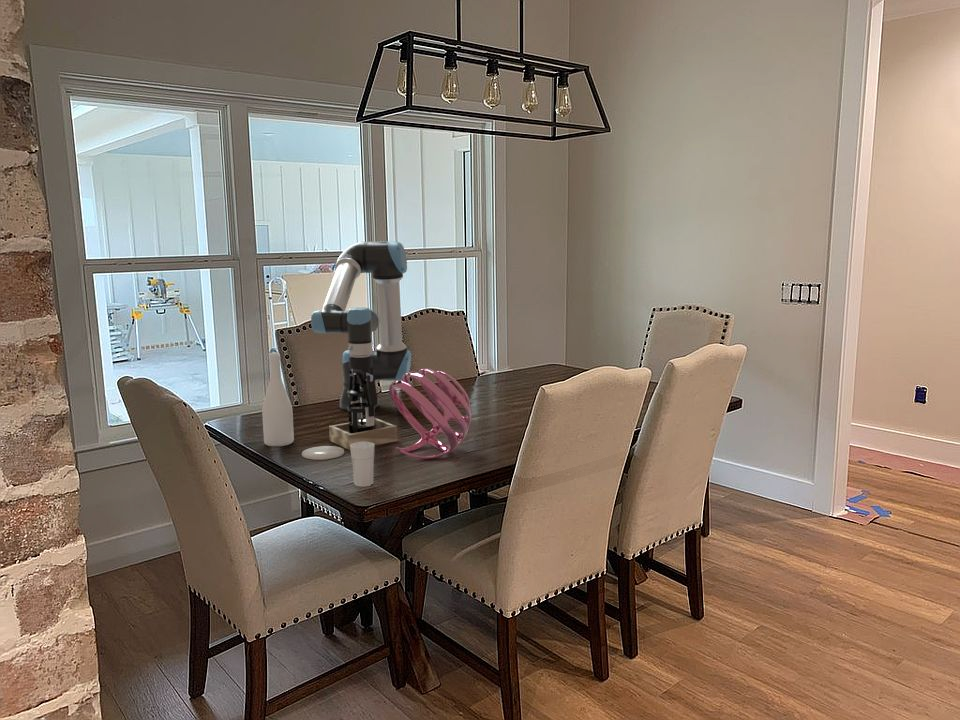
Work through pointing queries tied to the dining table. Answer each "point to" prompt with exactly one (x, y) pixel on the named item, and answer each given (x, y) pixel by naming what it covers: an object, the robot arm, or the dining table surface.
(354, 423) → the french press
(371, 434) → the holder
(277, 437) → the wine bottle
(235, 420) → the dining table surface
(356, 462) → the cup
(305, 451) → the trivet
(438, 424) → the spiral basket
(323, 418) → the dining table surface
